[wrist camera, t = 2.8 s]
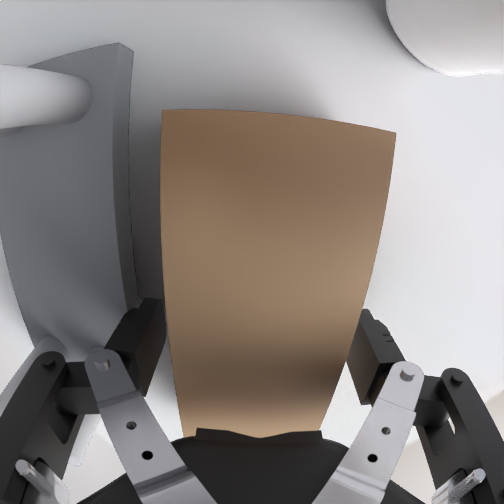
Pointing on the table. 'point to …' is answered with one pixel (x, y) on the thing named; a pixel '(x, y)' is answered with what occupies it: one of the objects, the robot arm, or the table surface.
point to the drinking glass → (452, 34)
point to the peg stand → (68, 204)
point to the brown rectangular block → (266, 261)
